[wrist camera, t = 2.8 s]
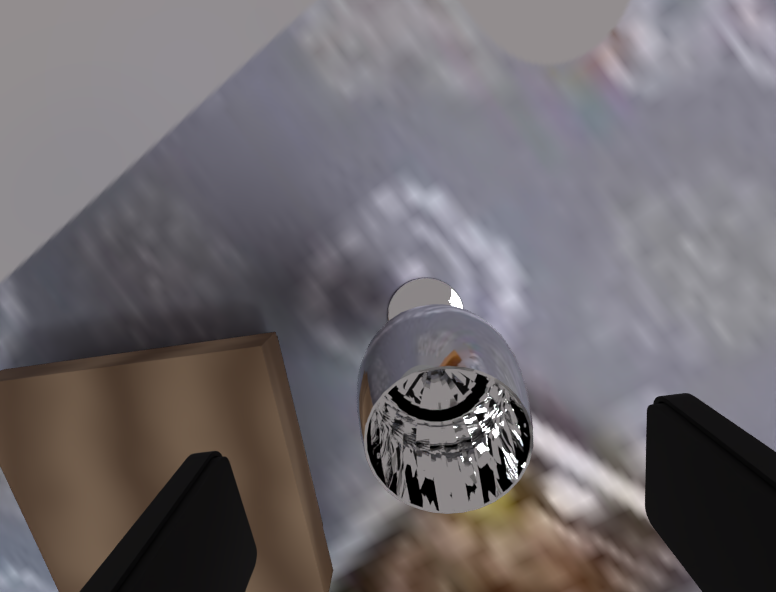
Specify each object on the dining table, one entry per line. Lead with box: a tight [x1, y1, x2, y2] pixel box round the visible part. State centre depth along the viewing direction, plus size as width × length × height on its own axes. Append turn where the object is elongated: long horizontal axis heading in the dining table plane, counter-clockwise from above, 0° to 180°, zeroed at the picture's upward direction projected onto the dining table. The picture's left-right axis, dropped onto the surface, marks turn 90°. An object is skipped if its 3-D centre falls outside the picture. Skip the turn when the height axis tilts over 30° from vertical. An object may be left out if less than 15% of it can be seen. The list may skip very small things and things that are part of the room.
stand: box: [0, 332, 333, 592], centre depth 23 cm, size 16×16×4 cm
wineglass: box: [357, 278, 533, 514], centre depth 16 cm, size 6×6×12 cm
